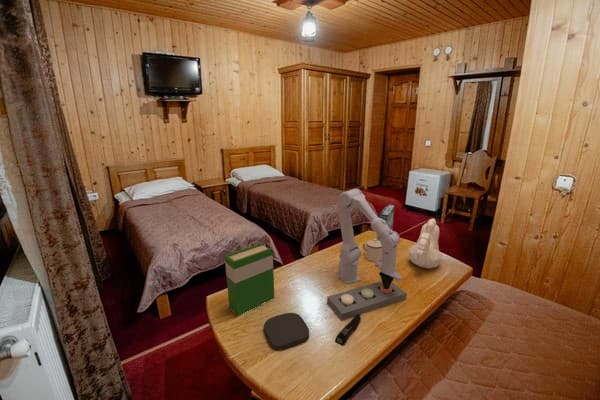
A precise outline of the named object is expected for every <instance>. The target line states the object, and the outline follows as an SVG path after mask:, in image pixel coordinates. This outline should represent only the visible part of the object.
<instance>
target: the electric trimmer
mask: <svg viewBox="0 0 600 400" xmlns="http://www.w3.org/2000/svg"><path fill="white" fill-rule="evenodd" d="M361 320H362V318H361V314H357V315H356V316H354V317H352V318H351V320H350V321H349V322H348V323H347V324H346V325H345V326H344V327H343V328H342V329H341V330H340V331H339V333H337V334H336V336H335V338H334V339H335V340H334V342H335V343H336V344H338V345H340V346H345V344H346V342H347V338H349V336H350V335H351V333H352V332H355V331H356V329H357V328H358V326H359V324H360V322H361Z"/></svg>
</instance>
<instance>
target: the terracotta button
mask: <svg viewBox="0 0 600 400" xmlns="http://www.w3.org/2000/svg"><path fill="white" fill-rule="evenodd" d="M380 290H381V291H382V292H383V293H384V294H388V293H391V292H392V287H391V286H390V287H389V288H388V289H384V288H383V285H381V286H380Z"/></svg>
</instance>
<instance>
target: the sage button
mask: <svg viewBox="0 0 600 400" xmlns="http://www.w3.org/2000/svg"><path fill="white" fill-rule="evenodd" d="M373 294H374V292H373V291H372V290H371V289H368V288H365V289H362V291H361V296H362V297H363V298H364V299H365V300H369V299H372V298H373Z"/></svg>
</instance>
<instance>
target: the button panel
mask: <svg viewBox="0 0 600 400" xmlns="http://www.w3.org/2000/svg"><path fill="white" fill-rule="evenodd" d="M381 285H383V283H382V280H380V281H377V282H373V283H369V284H365V285H362V286H359V287H356V288H353V289H352V288H351V289H349V290H345V291H341V292H339V293H335V294H331V295H327V297H326V302H327V304H328V306H329V307H330V308H331V309H332V310H333V311H334V312H335V314H336V315H337V316H338V318H339V319H340V320H341V321H345V320H348V319H350V318H351V319H352V318H354V317H355V316H356V315H357V314H360V315H363V314H366V313H369V312H372V311H375V310H378V309H381V308H384V307H387V306H390V305H394V304H396V303H399V302H402V301H405V300H407V294H408V293H407V292H406V291H404V289H402V288H401V287H399V286H397V285H396V284H395V283H394V282H393V281H392V282H391V285H390V286H391V287H392V292H391V293H388V294H384V293H383V292H382V291H381V290H380V286H381ZM365 288H368V289H371V290H372V291H373V292H374V294H373V298H372V299H369V300H365V299H364V298H363V297H362V296H361V291H362V289H365ZM344 294H349V295H351V296H353V298H354V299H353V305H349V306H344V305H343V304H342V303H341V296H342V295H344Z"/></svg>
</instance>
